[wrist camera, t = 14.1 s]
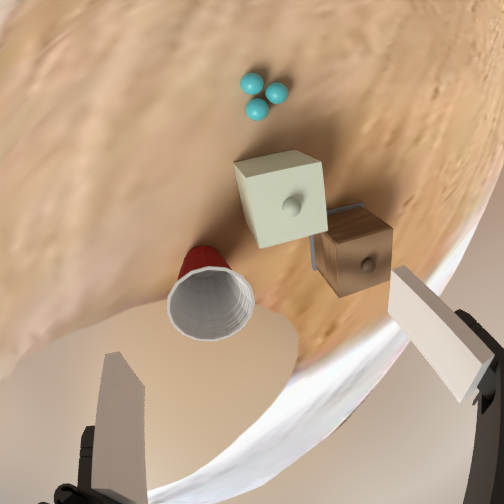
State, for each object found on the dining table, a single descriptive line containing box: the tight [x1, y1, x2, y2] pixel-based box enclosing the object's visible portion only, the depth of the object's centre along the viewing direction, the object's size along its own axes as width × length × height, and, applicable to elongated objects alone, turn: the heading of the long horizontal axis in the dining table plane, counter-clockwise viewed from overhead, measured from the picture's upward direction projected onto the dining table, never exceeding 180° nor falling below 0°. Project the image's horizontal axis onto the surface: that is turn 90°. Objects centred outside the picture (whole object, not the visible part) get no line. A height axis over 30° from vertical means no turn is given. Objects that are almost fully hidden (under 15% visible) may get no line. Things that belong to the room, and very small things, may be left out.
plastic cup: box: [167, 246, 255, 341], centre depth 41 cm, size 11×11×12 cm
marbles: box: [240, 73, 288, 121], centre depth 38 cm, size 18×6×3 cm, turn 10°
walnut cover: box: [313, 206, 393, 298], centre depth 45 cm, size 9×9×10 cm
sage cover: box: [233, 150, 328, 249], centre depth 39 cm, size 9×9×10 cm
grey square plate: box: [309, 202, 364, 271], centre depth 49 cm, size 10×10×1 cm
